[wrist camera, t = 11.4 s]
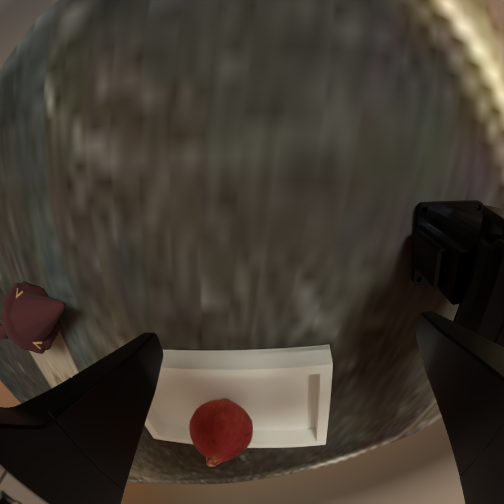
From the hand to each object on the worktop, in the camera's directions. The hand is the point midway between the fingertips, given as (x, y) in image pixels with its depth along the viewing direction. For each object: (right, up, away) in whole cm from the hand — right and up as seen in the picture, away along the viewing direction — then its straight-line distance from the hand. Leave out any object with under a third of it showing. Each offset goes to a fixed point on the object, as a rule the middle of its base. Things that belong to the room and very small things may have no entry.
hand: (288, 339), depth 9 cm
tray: (-4, -12, +18) cm, 22 cm away
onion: (-4, -12, +18) cm, 22 cm away
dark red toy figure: (-23, -3, +17) cm, 29 cm away
